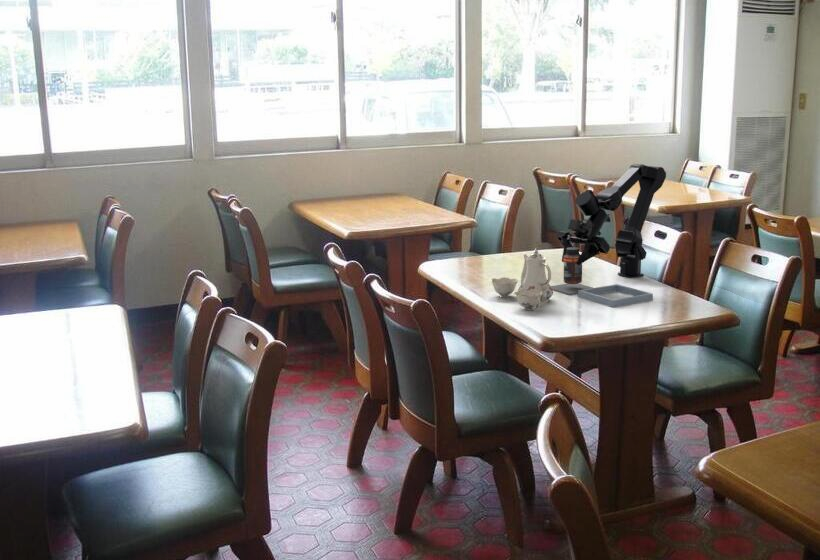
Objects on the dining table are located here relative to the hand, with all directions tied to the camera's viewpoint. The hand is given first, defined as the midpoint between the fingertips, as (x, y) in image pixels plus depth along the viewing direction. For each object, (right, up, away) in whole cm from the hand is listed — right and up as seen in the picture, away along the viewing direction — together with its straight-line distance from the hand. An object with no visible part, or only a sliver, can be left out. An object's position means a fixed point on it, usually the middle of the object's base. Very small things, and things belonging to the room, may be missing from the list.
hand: (570, 262), depth 288 cm
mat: (+1, -8, +3) cm, 9 cm away
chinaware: (-16, -12, -12) cm, 23 cm away
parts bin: (+12, -11, -10) cm, 19 cm away
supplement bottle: (+1, -6, +2) cm, 7 cm away
